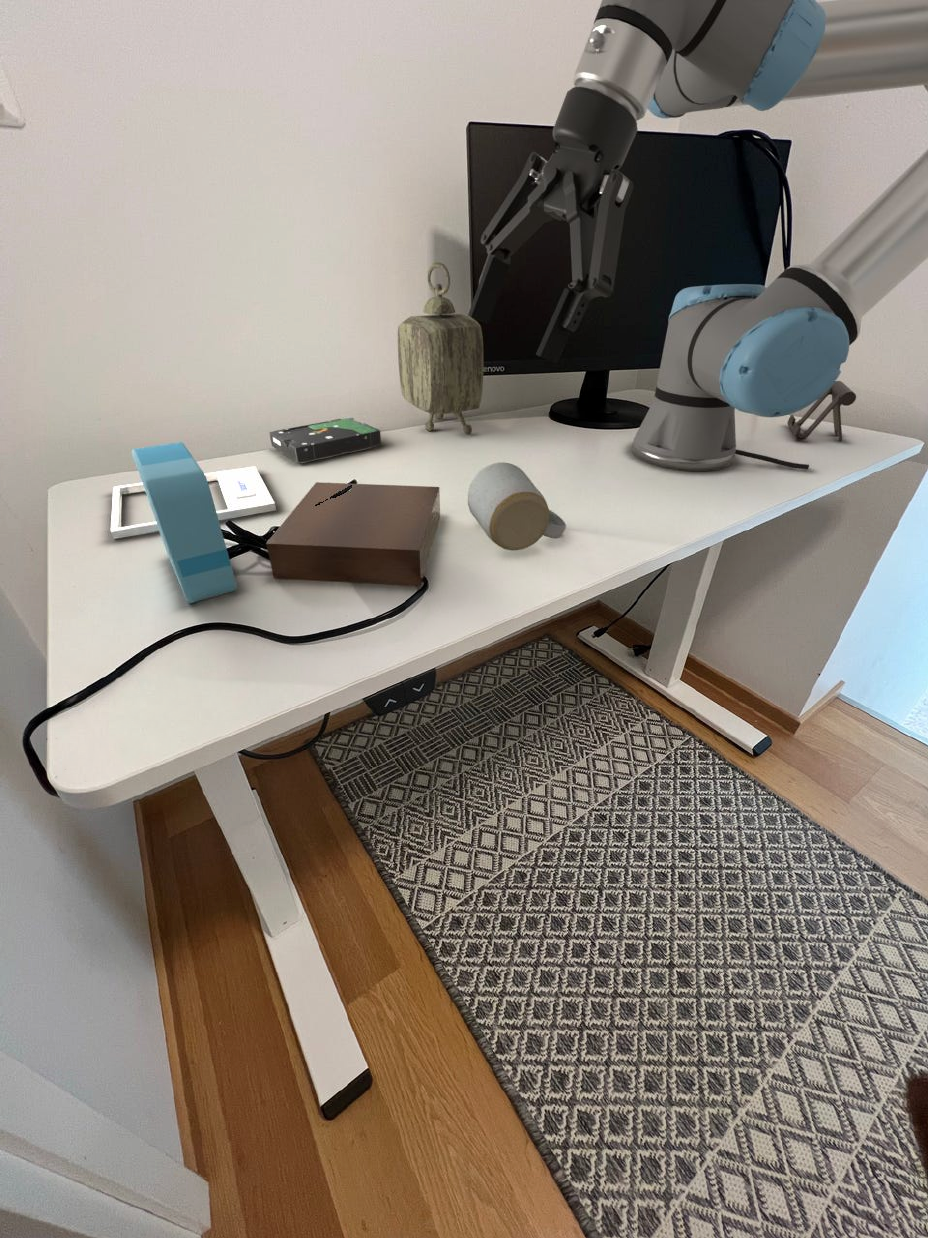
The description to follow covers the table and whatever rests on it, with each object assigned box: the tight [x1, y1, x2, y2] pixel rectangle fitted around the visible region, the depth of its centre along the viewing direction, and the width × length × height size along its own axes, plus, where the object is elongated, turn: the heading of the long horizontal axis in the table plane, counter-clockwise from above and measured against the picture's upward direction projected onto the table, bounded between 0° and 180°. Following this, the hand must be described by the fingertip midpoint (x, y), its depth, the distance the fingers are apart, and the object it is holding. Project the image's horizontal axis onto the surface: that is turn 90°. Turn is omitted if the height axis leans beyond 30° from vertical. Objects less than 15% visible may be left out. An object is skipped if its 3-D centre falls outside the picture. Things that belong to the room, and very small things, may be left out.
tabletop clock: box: [397, 261, 485, 435], centre depth 90 cm, size 14×9×25 cm, turn 30°
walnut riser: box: [265, 481, 441, 587], centre depth 60 cm, size 15×16×4 cm
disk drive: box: [268, 417, 382, 464], centre depth 88 cm, size 10×3×15 cm
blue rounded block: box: [131, 441, 238, 604], centre depth 52 cm, size 12×4×12 cm, turn 33°
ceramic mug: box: [466, 462, 567, 551], centre depth 61 cm, size 11×8×8 cm
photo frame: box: [110, 466, 277, 540], centre depth 70 cm, size 15×1×18 cm
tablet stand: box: [786, 380, 857, 442], centre depth 93 cm, size 9×8×8 cm
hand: (509, 338), depth 62 cm, fingers open, 13 cm apart
